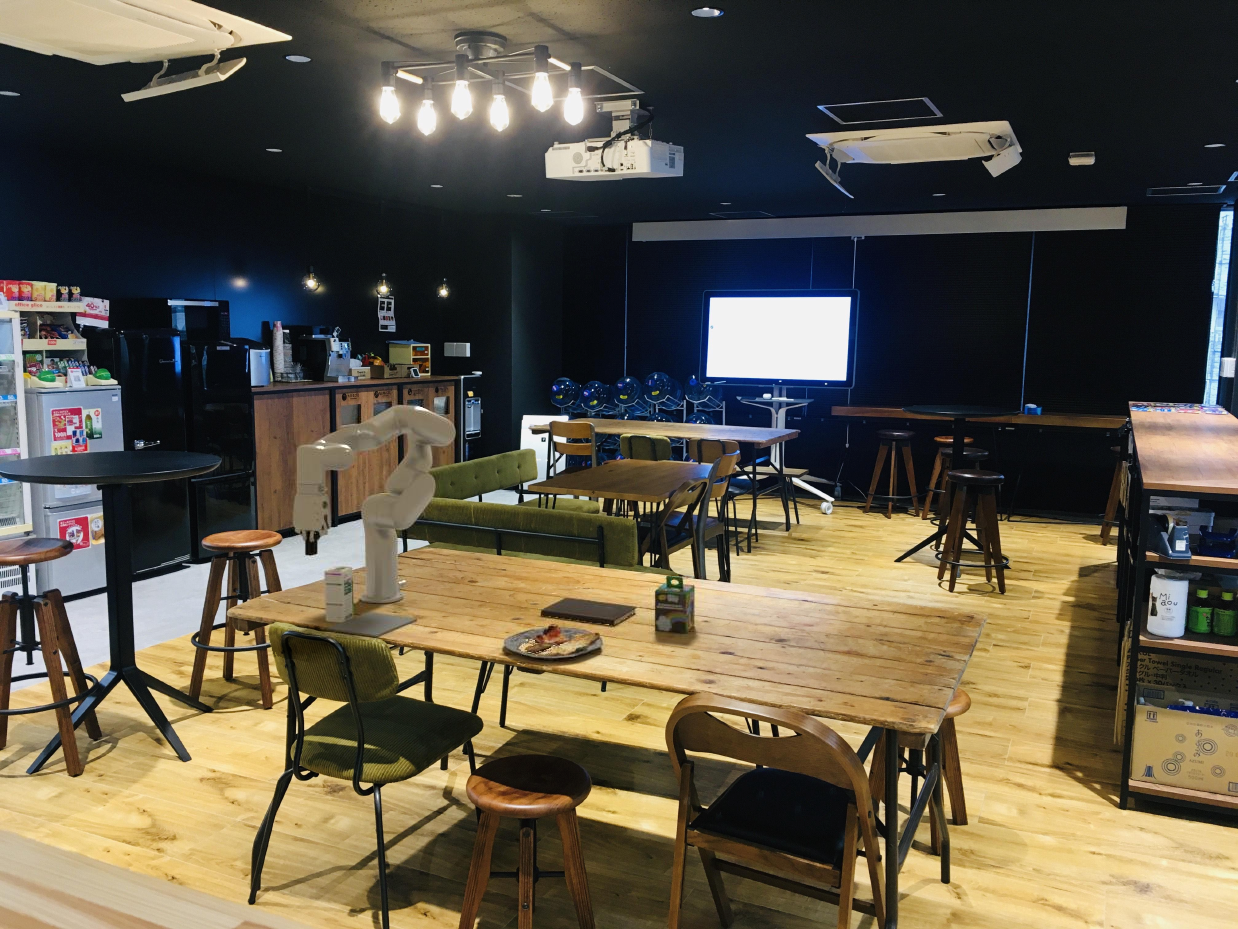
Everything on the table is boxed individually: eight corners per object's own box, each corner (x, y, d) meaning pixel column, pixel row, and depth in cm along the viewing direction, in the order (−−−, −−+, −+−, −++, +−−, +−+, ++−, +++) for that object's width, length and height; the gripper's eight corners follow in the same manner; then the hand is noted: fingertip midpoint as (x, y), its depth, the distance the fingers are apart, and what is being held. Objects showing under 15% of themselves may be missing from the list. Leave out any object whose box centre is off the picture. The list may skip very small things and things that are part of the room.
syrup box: (344, 623, 266) (343, 571, 265) (324, 621, 268) (323, 570, 266) (354, 617, 272) (353, 566, 270) (334, 616, 273) (334, 565, 271)
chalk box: (694, 625, 270) (696, 573, 268) (686, 634, 261) (687, 580, 260) (662, 622, 273) (664, 570, 271) (653, 630, 264) (654, 577, 263)
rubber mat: (370, 613, 276) (370, 611, 276) (417, 620, 270) (417, 618, 270) (327, 629, 260) (327, 627, 260) (376, 637, 254) (376, 635, 254)
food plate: (554, 628, 264) (554, 616, 264) (620, 647, 250) (620, 633, 249) (486, 651, 245) (486, 638, 245) (554, 673, 231) (553, 659, 230)
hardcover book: (566, 605, 292) (566, 597, 292) (636, 614, 282) (636, 606, 282) (540, 617, 277) (540, 609, 277) (613, 628, 268) (614, 620, 268)
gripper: (341, 490, 270) (341, 555, 271) (299, 486, 275) (299, 550, 277) (323, 493, 263) (323, 559, 264) (280, 488, 269) (280, 554, 270)
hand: (311, 554), depth 271 cm, fingers closed
